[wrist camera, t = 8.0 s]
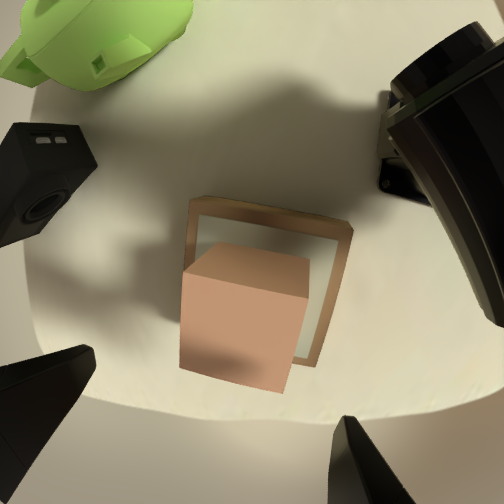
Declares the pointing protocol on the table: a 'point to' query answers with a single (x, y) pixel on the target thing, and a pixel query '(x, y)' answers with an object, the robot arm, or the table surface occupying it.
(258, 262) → the cube
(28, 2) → the teapot
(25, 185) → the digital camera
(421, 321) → the table surface
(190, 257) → the stand
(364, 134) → the table surface
